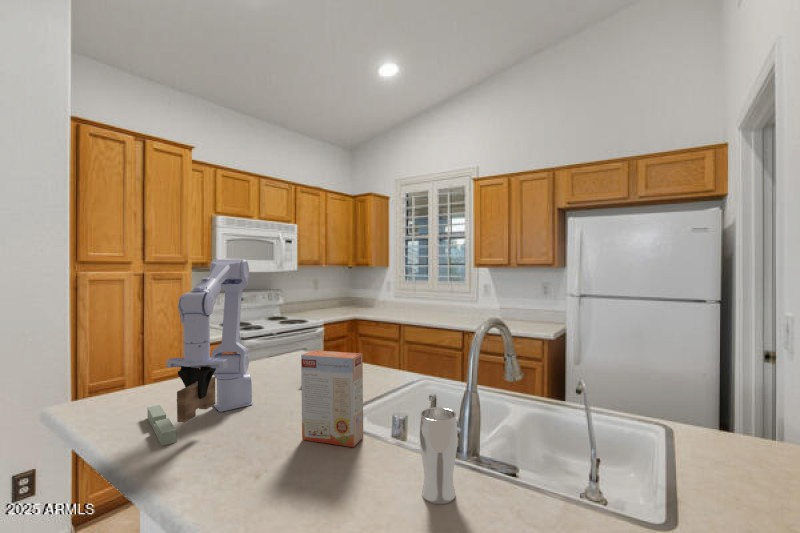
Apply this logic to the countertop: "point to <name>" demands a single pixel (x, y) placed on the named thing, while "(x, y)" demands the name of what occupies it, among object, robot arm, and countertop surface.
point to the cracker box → (332, 397)
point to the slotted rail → (161, 425)
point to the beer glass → (438, 453)
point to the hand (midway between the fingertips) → (197, 397)
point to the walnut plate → (193, 401)
